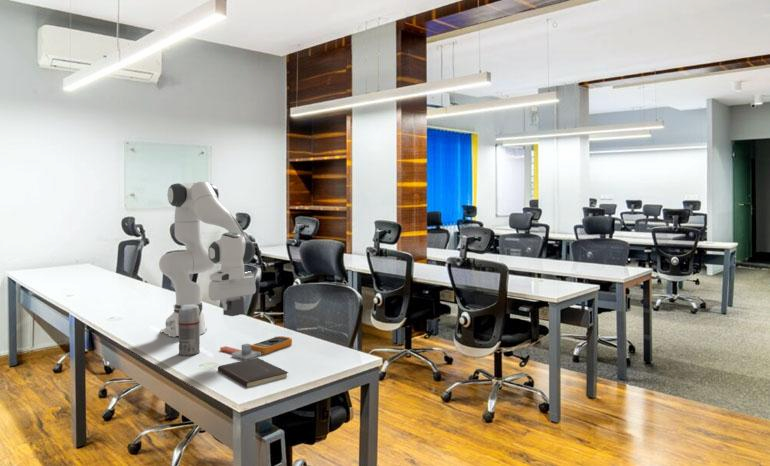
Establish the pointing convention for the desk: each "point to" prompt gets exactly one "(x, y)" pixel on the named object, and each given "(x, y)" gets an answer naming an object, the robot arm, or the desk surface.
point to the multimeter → (272, 344)
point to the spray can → (189, 330)
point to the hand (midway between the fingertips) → (233, 308)
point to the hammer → (242, 352)
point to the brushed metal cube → (234, 307)
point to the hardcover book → (252, 372)
